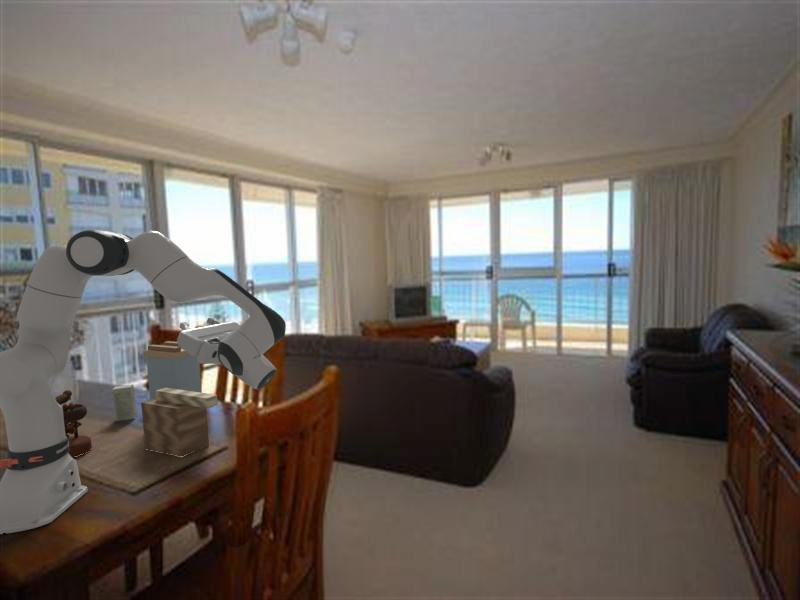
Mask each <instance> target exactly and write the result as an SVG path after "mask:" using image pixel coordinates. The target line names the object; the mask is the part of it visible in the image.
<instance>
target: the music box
mask: <svg viewBox="0 0 800 600" xmlns="http://www.w3.org/2000/svg"><path fill="white" fill-rule="evenodd" d="M72 395H73V393H72V391H71V390H70V389H67V390H63V392H62V394H59V395H57V396H56V397H55V400H56V401H57V403H58V404H60V405H61V407H62V409H63V417H64V427H65V436H67V437H68V441H69V452H68V453H69V454H70V456H71V457H74V456H78V455H80V454H83V453H86V452H88V451H89V450H90V449H91V448H92V449H93V446H92V438H91V437H90V436H88V435H79V431H78V428H79V427H80V426H82V425H83V424H82V423H81V422H80V421H81V420H83V419H84V418H85V417H86V416H87V414H88V409H87V407H86V406H85V405H84V404H80V403H75V404H74V402H72ZM69 401H71V402H69ZM67 402H69V404H67ZM71 435H73V436H71ZM88 453H89V452H88Z"/></svg>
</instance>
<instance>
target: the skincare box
mask: <svg viewBox="0 0 800 600" xmlns="http://www.w3.org/2000/svg"><path fill="white" fill-rule="evenodd" d="M111 392H112V399H113V406H114V407H113V408H114V414H115V421H116V422H121V421H127V420H128V421H129V420H135V419H136V417H137V416H138V412H137V405H136V402H137V401H136V397H135V395H136V394H135V386H134V384H133V383H132V384H124V385H116V386H114V387H113V388H112V389H111Z"/></svg>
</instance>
